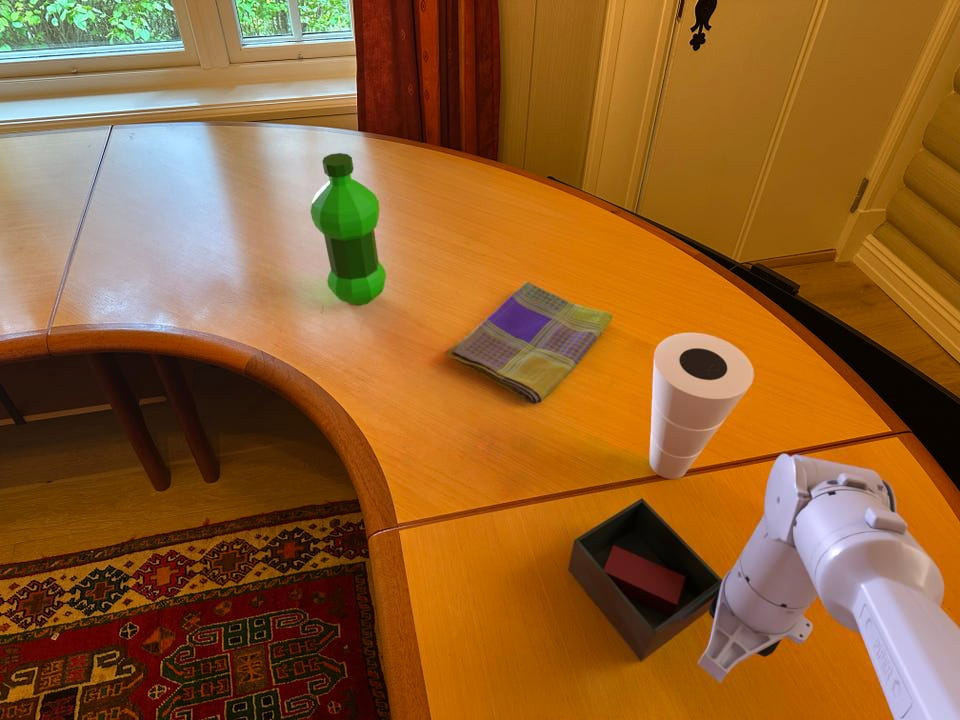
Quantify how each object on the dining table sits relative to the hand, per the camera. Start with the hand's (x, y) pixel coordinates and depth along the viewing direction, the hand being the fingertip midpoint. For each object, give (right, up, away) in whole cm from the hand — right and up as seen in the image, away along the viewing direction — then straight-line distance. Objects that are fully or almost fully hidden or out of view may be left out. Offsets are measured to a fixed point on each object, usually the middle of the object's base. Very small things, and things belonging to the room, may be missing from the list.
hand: (729, 644), depth 55 cm
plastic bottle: (-44, +37, +50) cm, 76 cm away
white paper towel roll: (+2, +12, +24) cm, 27 cm away
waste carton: (-6, +1, +11) cm, 13 cm away
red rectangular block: (-5, +1, +11) cm, 12 cm away
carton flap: (-2, +4, 0) cm, 5 cm away
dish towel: (-15, +29, +41) cm, 52 cm away
